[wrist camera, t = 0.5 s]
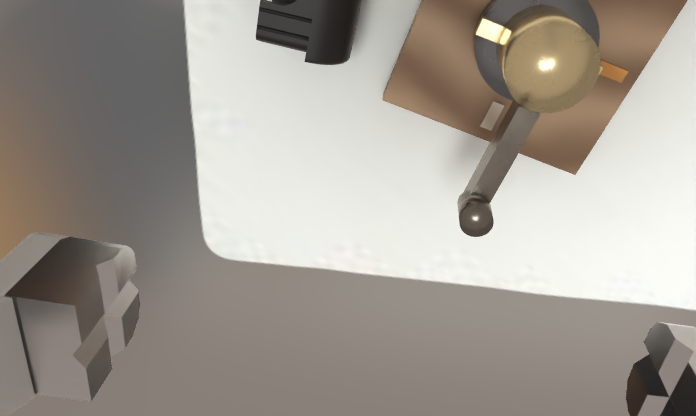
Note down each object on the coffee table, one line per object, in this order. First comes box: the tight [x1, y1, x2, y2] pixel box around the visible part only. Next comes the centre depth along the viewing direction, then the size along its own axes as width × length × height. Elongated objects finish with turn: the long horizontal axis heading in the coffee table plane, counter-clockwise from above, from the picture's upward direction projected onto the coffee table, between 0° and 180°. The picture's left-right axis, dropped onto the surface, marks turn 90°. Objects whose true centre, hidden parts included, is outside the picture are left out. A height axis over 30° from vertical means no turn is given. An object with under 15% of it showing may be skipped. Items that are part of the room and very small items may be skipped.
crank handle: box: [458, 5, 604, 237], centre depth 43 cm, size 16×10×8 cm, turn 160°
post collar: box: [473, 0, 600, 100], centre depth 45 cm, size 9×9×2 cm
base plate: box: [383, 0, 687, 175], centre depth 47 cm, size 18×18×2 cm
